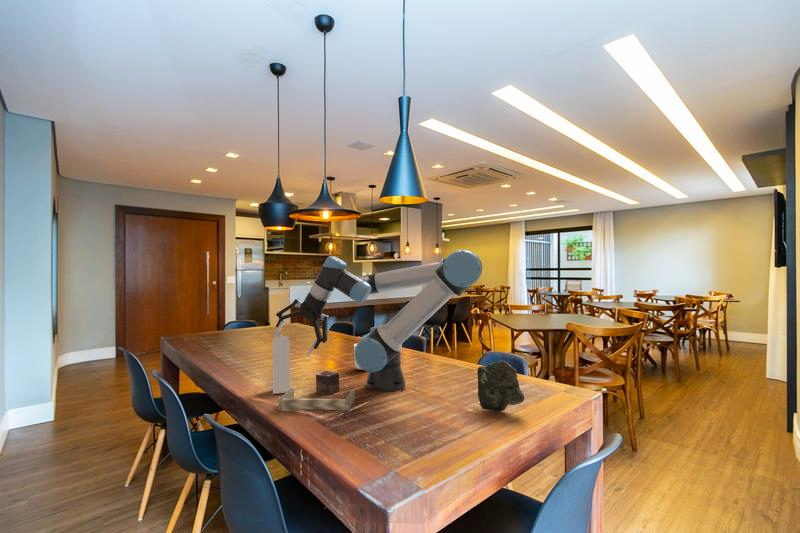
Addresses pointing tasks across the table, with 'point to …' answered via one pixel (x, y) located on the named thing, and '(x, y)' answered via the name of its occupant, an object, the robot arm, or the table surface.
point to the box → (327, 382)
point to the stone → (498, 386)
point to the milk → (281, 364)
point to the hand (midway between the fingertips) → (291, 345)
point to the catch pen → (314, 403)
